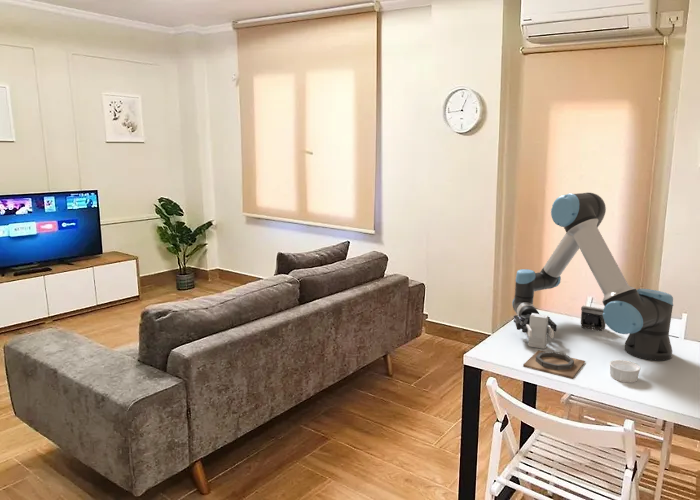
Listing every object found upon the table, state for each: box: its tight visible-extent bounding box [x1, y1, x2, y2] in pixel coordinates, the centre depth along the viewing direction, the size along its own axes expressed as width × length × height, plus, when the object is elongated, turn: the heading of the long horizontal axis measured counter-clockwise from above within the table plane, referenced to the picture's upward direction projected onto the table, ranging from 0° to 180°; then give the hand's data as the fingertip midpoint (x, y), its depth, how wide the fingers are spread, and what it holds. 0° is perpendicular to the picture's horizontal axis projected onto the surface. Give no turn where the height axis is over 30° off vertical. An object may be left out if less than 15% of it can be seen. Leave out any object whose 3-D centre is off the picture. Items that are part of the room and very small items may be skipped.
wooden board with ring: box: [523, 349, 586, 379], centre depth 184 cm, size 16×16×2 cm
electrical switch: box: [580, 305, 607, 332], centre depth 218 cm, size 9×5×9 cm, turn 57°
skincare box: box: [528, 313, 549, 350], centre depth 199 cm, size 6×4×12 cm
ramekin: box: [609, 359, 641, 384], centre depth 174 cm, size 9×9×4 cm
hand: (541, 334), depth 194 cm, fingers closed on skincare box, 7 cm apart
